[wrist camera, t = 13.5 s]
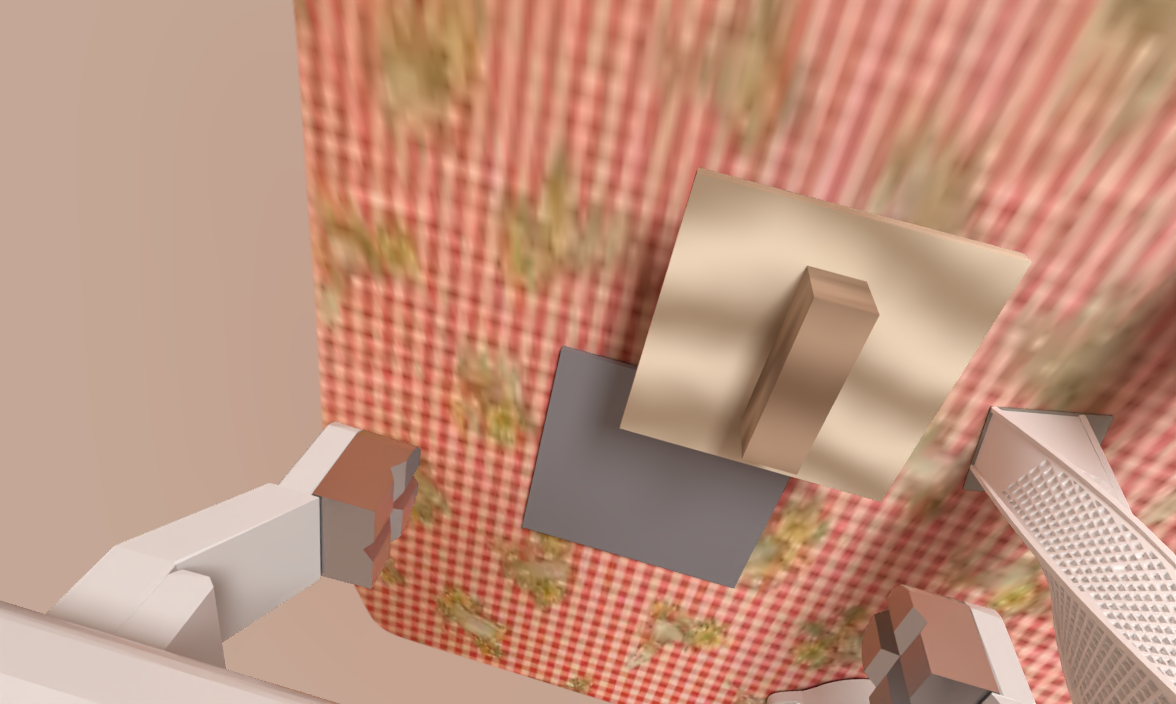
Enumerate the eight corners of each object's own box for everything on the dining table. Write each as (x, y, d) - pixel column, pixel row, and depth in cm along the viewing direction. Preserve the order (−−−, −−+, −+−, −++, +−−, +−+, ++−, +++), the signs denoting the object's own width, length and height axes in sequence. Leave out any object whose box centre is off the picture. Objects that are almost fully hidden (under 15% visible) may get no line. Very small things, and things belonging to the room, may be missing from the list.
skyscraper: (939, 483, 48) (1137, 1016, 24) (969, 387, 44) (1244, 920, 20) (1072, 495, 46) (1418, 1075, 23) (1117, 398, 42) (1597, 985, 19)
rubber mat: (733, 583, 56) (733, 588, 56) (523, 522, 57) (522, 527, 56) (818, 416, 46) (819, 420, 46) (562, 345, 47) (561, 349, 47)
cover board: (877, 490, 41) (892, 546, 37) (621, 418, 42) (610, 466, 38) (1024, 253, 32) (1062, 296, 29) (697, 167, 33) (693, 197, 29)
